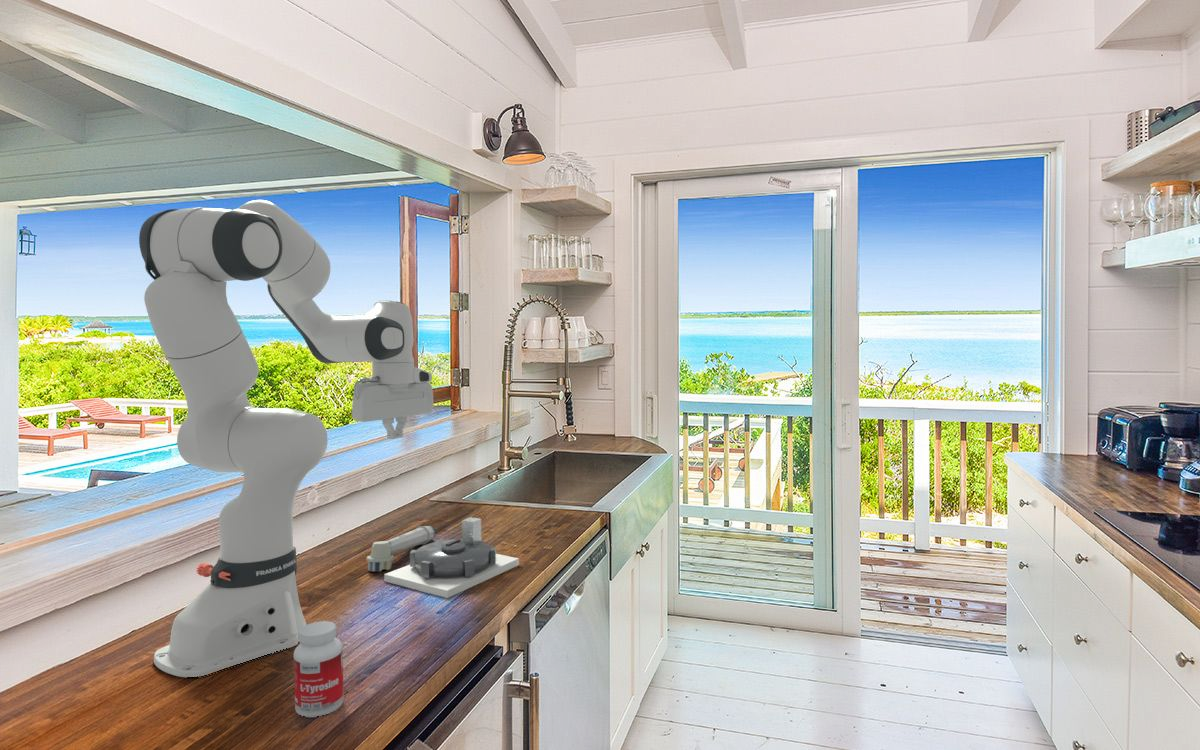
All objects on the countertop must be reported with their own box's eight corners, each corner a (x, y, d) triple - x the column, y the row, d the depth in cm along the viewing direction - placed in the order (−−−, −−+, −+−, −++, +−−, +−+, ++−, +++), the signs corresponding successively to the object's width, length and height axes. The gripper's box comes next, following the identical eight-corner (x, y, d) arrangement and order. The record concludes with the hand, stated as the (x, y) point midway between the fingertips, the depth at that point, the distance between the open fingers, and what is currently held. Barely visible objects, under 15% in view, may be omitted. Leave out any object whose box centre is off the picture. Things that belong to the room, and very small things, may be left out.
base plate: (447, 598, 130) (446, 589, 130) (384, 581, 140) (384, 573, 140) (519, 565, 149) (518, 557, 149) (459, 552, 158) (459, 545, 158)
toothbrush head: (438, 525, 168) (384, 540, 144) (437, 552, 168) (382, 572, 144) (419, 524, 170) (362, 539, 145) (418, 551, 169) (360, 570, 145)
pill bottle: (295, 723, 88) (291, 641, 87) (295, 701, 94) (292, 623, 93) (345, 712, 90) (342, 632, 90) (342, 691, 96) (340, 615, 95)
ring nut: (457, 583, 132) (456, 543, 132) (394, 571, 140) (393, 533, 139) (506, 557, 148) (506, 522, 147) (447, 548, 155) (446, 514, 155)
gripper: (364, 378, 137) (366, 445, 137) (437, 373, 154) (438, 433, 155) (344, 377, 140) (346, 443, 141) (417, 373, 158) (419, 432, 158)
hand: (395, 438), depth 148 cm, fingers closed
